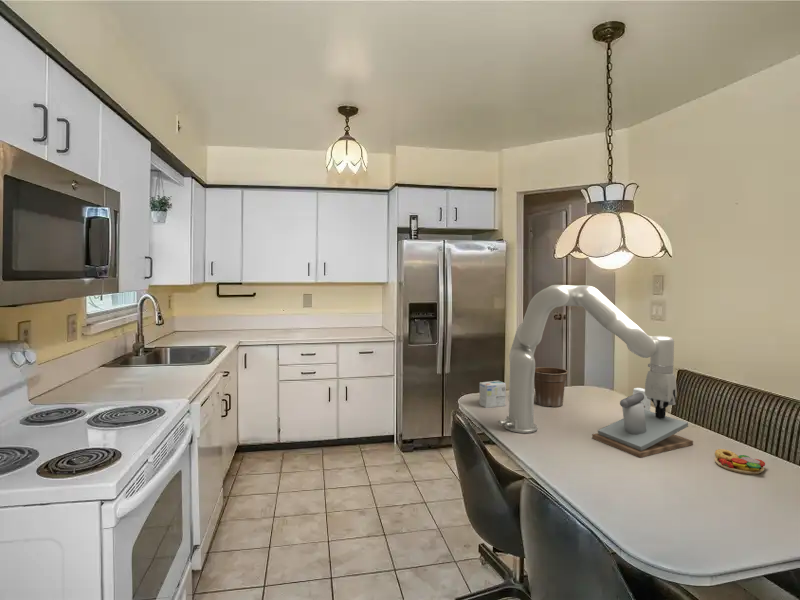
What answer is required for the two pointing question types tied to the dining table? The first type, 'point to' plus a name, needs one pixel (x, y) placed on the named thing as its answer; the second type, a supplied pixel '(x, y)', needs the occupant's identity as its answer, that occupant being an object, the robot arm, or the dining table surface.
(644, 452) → the walnut base
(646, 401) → the skincare box
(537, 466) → the dining table surface
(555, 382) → the plant pot
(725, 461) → the toy food set
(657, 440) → the tilting top
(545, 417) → the dining table surface
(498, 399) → the light bulb box
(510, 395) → the robot arm
